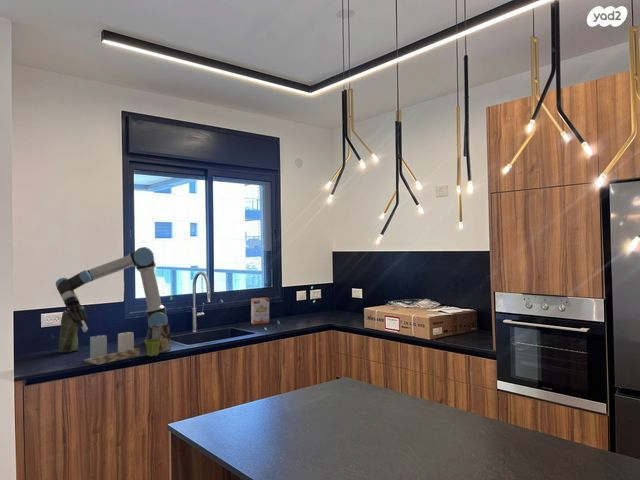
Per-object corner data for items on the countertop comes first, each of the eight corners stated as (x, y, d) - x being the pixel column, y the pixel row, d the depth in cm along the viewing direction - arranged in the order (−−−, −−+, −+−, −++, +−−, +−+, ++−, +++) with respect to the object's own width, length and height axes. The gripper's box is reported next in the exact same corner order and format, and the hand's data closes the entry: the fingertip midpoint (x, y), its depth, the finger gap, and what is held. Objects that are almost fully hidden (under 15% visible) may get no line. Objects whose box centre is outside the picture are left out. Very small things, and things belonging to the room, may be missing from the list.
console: (125, 352, 284) (125, 345, 284) (139, 355, 276) (139, 348, 276) (83, 361, 262) (83, 354, 262) (98, 364, 255) (98, 357, 255)
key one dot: (128, 352, 278) (128, 331, 278) (133, 352, 275) (133, 332, 275) (118, 354, 272) (117, 333, 272) (123, 355, 269) (123, 334, 270)
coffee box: (163, 348, 292) (163, 323, 293) (170, 349, 289) (170, 324, 290) (151, 351, 284) (151, 325, 285) (159, 352, 281) (159, 326, 282)
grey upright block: (101, 355, 269) (101, 334, 269) (106, 356, 266) (106, 335, 266) (90, 358, 263) (90, 336, 263) (95, 359, 261) (95, 337, 261)
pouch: (61, 350, 291) (60, 310, 291) (82, 349, 294) (81, 309, 294) (55, 354, 280) (55, 312, 281) (77, 353, 283) (77, 311, 284)
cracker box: (253, 324, 377) (253, 299, 377) (251, 323, 382) (250, 298, 382) (269, 323, 384) (269, 297, 384) (266, 322, 389) (266, 297, 389)
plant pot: (155, 357, 270) (155, 342, 270) (141, 356, 272) (141, 341, 272) (164, 353, 279) (164, 339, 280) (150, 353, 281) (150, 338, 281)
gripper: (78, 302, 287) (93, 332, 278) (57, 305, 277) (72, 336, 267) (83, 294, 284) (99, 324, 275) (62, 296, 274) (77, 328, 264)
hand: (85, 330), depth 271 cm, fingers closed
